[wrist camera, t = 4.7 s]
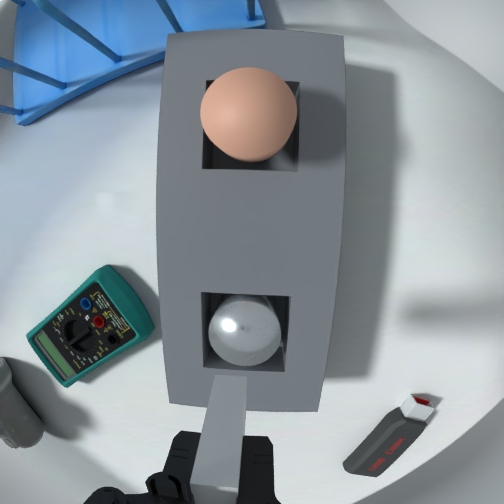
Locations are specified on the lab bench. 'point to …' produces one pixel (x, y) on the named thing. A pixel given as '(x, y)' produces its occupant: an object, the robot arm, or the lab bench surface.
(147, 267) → the lab bench surface
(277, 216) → the block
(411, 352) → the lab bench surface
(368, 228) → the lab bench surface
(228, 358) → the steel plunger
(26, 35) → the file sorter
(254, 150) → the peach rounded dome part
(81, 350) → the digital multimeter
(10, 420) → the pipe fitting
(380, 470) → the usb drive
